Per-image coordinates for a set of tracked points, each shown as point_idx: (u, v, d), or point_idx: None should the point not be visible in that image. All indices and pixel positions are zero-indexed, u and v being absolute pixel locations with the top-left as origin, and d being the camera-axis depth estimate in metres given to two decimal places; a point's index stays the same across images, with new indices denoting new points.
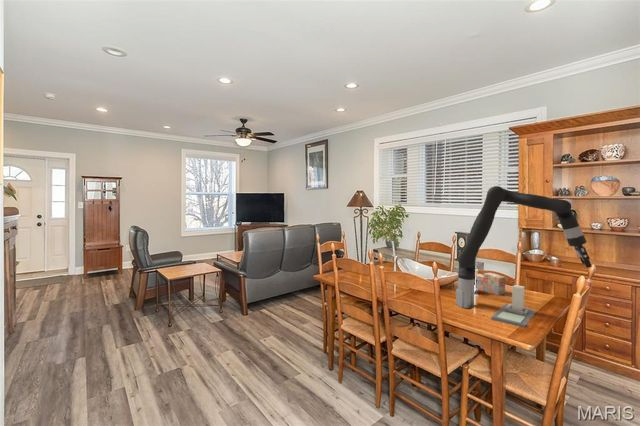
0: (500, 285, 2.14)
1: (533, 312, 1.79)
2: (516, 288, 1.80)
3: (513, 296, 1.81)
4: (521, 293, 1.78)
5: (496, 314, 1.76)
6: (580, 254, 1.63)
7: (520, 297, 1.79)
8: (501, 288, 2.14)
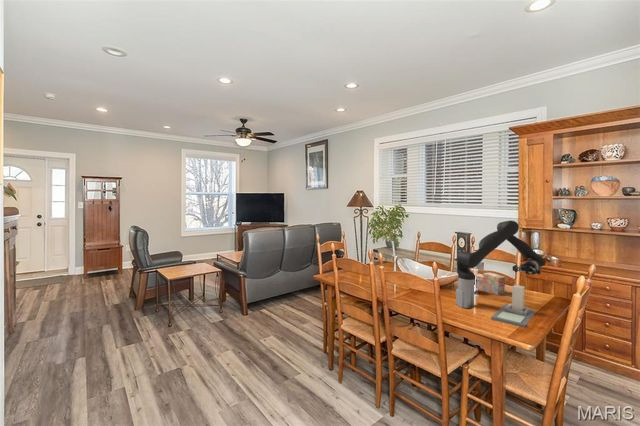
0: (500, 285, 2.14)
1: (533, 312, 1.79)
2: (516, 288, 1.80)
3: (513, 296, 1.81)
4: (521, 293, 1.78)
5: (496, 314, 1.76)
6: (533, 268, 1.91)
7: (520, 297, 1.79)
8: (500, 288, 2.14)
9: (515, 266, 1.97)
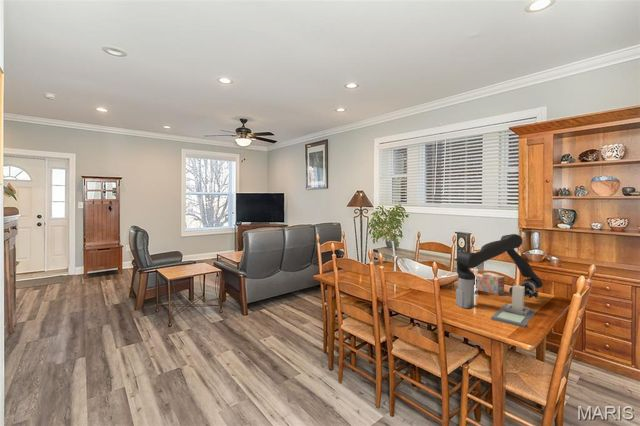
0: (499, 285, 2.14)
1: (533, 312, 1.79)
2: (516, 288, 1.80)
3: (513, 296, 1.81)
4: (521, 293, 1.78)
5: (496, 314, 1.76)
6: (530, 291, 1.89)
7: (520, 297, 1.79)
8: (500, 288, 2.15)
9: None
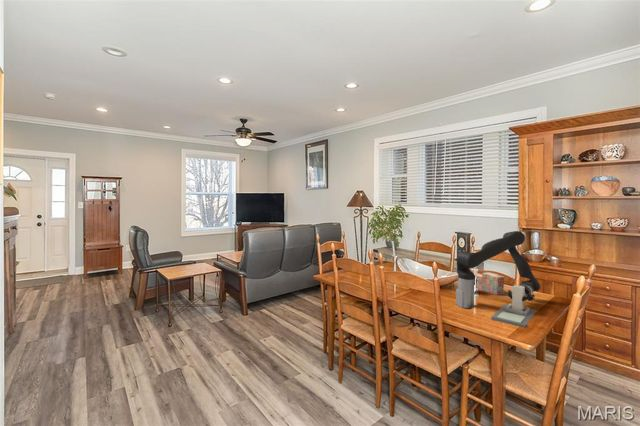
0: (499, 285, 2.14)
1: (533, 312, 1.79)
2: (516, 288, 1.80)
3: (513, 296, 1.81)
4: (521, 293, 1.78)
5: (496, 314, 1.76)
6: (525, 294, 1.83)
7: (520, 297, 1.79)
8: (499, 288, 2.15)
9: (510, 292, 1.87)
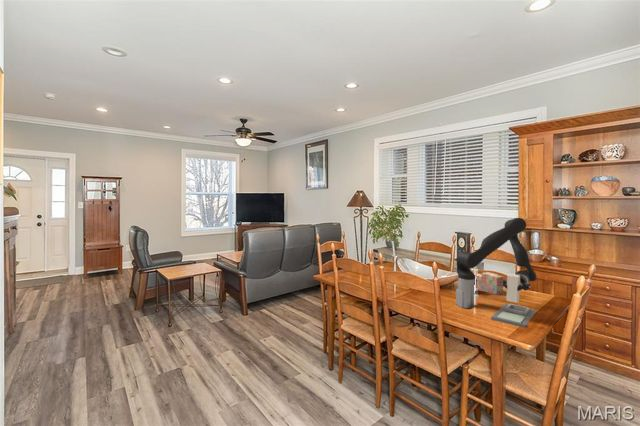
0: (498, 284, 2.15)
1: (533, 312, 1.79)
2: (511, 277, 1.71)
3: (508, 285, 1.72)
4: (516, 282, 1.69)
5: (496, 314, 1.76)
6: None
7: (515, 286, 1.70)
8: (499, 287, 2.15)
9: (505, 281, 1.78)
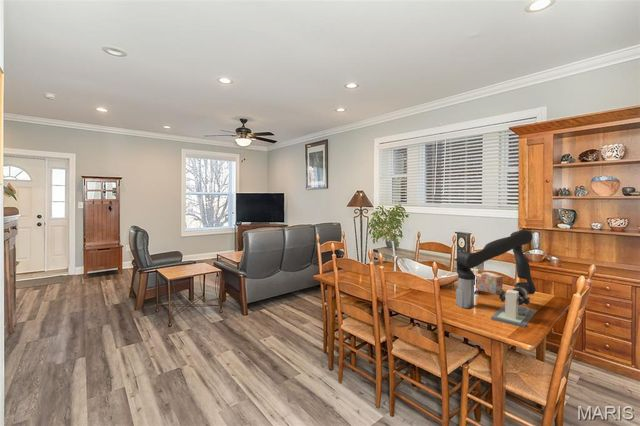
0: (497, 284, 2.15)
1: (533, 312, 1.79)
2: (509, 293, 1.70)
3: (506, 301, 1.71)
4: (515, 298, 1.68)
5: (496, 314, 1.76)
6: None
7: (514, 303, 1.69)
8: (498, 287, 2.15)
9: (502, 294, 1.78)
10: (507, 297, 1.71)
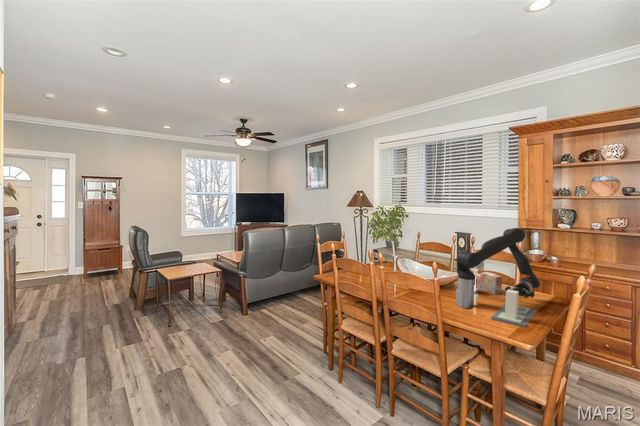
0: (497, 284, 2.15)
1: (533, 312, 1.79)
2: (509, 293, 1.70)
3: (506, 301, 1.71)
4: (515, 298, 1.68)
5: (496, 314, 1.76)
6: (526, 291, 1.82)
7: (514, 303, 1.69)
8: (497, 287, 2.16)
9: (508, 287, 1.88)
10: (507, 297, 1.71)
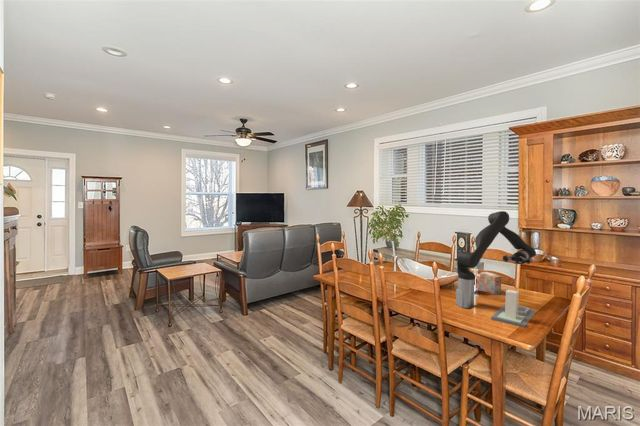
0: (496, 284, 2.16)
1: (533, 312, 1.79)
2: (509, 293, 1.70)
3: (506, 301, 1.71)
4: (515, 298, 1.68)
5: (496, 314, 1.76)
6: (523, 258, 1.93)
7: (514, 303, 1.69)
8: (497, 287, 2.16)
9: (505, 256, 1.99)
10: (507, 297, 1.71)
